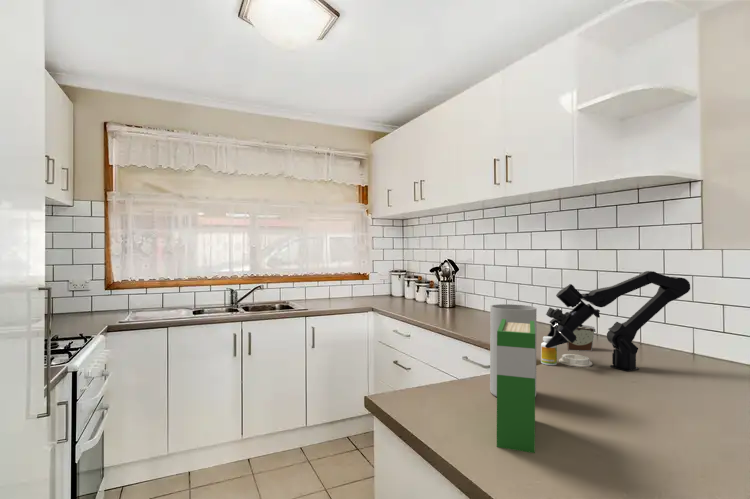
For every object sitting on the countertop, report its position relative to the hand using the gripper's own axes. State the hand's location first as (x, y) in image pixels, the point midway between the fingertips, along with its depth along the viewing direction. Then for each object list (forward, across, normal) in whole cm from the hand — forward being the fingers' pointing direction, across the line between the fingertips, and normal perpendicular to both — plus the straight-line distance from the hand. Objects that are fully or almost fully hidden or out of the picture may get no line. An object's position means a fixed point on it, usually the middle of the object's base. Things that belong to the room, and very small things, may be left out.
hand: (544, 345), depth 152 cm
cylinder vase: (+15, +38, -6) cm, 42 cm away
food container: (-8, -28, +17) cm, 34 cm away
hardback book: (+16, +65, -7) cm, 67 cm away
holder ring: (-3, -4, +13) cm, 13 cm away
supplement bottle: (+4, 0, +6) cm, 7 cm away
